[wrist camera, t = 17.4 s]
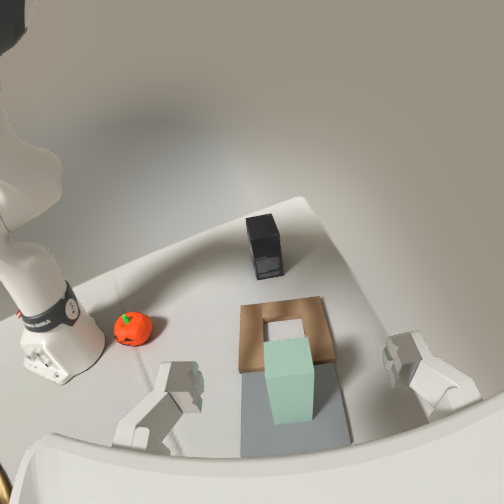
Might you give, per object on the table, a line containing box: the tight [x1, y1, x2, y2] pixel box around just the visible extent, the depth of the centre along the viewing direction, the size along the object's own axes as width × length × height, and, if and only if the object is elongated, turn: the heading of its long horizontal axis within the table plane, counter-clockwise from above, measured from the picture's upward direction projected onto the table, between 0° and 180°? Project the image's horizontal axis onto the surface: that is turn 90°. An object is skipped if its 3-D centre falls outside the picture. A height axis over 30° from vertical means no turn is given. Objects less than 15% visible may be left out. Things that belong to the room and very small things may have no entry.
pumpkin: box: [114, 312, 153, 346], centre depth 51 cm, size 7×8×6 cm
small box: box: [246, 214, 284, 280], centre depth 65 cm, size 11×6×10 cm, turn 6°
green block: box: [264, 337, 314, 425], centre depth 33 cm, size 5×5×12 cm
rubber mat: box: [241, 362, 351, 458], centre depth 36 cm, size 14×14×1 cm
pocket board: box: [239, 296, 336, 374], centre depth 49 cm, size 15×15×1 cm
